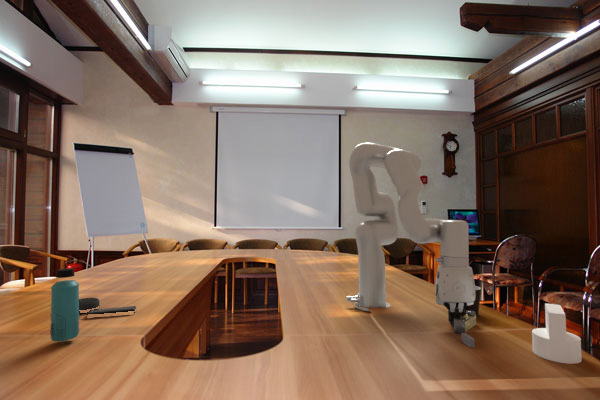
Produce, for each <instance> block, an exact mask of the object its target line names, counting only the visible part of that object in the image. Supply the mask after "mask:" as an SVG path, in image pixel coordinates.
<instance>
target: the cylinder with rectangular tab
mask: <svg viewBox="0 0 600 400" xmlns="http://www.w3.org/2000/svg"><path fill="white" fill-rule="evenodd" d="M544 310H545V311H544V312H545V313H544V315H545V327H539V328H538V327H537V328H533V329H532V331H531V340H532V353H533V354H535V355H536V356H538V357H540V358H542V359H545V360H548V361H551V362H555V363H562V364H567V365H568V364H569V365H570V364H572V365H573V364H579V363H581V362H582V339H581V337H580V336H578V335H577V334H574V333H572V332H568V331H567V325H566V324H567V321H566V320H567V318H566V312H565V311H564V309H563V307H562V306H561V304H557V303H546V302H545V303H544Z"/></svg>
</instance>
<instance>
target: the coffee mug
mask: <svg viewBox="0 0 600 400" xmlns="http://www.w3.org/2000/svg"><path fill="white" fill-rule="evenodd" d="M481 291H482V287H480V286H477V285H475V294H476V297H475V301H473V302H474V304H473V305H469V306H466V307H465V308H464V309H463V311H462V312H461V317H463V316H465V315H466V311H467V310H472V311H475V315H476V318H477V317H479V312H480V300H481V294H482V293H481ZM454 307H455V303H454Z"/></svg>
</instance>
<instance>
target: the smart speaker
mask: <svg viewBox="0 0 600 400" xmlns="http://www.w3.org/2000/svg"><path fill="white" fill-rule="evenodd" d="M79 305H80V306H79V307H80V308H79V310H87V309H92V308H96V307H98V306H99V307H100V299H99V298H98V297H85V298H79Z"/></svg>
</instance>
